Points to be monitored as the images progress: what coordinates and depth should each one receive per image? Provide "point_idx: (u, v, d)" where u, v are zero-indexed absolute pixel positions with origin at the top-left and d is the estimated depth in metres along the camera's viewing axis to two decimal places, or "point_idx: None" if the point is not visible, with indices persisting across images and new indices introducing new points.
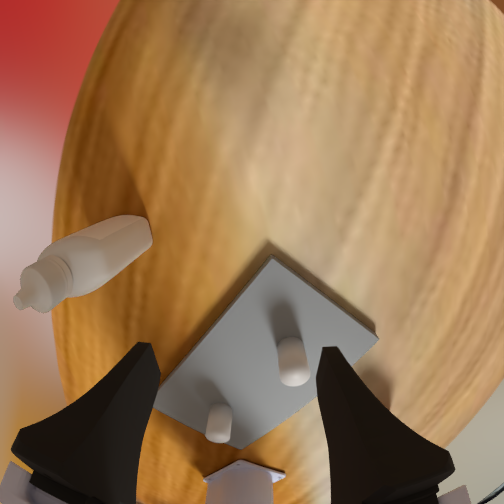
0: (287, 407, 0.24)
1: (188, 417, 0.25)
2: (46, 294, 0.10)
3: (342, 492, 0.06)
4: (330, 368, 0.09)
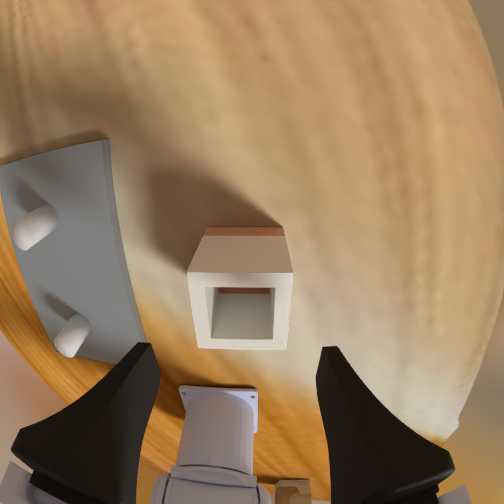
0: (110, 285, 0.20)
1: (79, 347, 0.23)
2: None
3: (342, 493, 0.06)
4: (330, 368, 0.09)
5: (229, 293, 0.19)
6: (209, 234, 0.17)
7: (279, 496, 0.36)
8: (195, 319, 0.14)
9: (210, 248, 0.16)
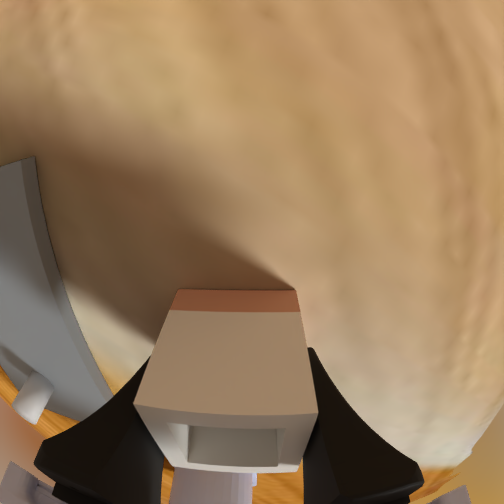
0: (63, 352, 0.13)
1: (47, 402, 0.16)
2: None
3: (311, 497, 0.06)
4: None
5: None
6: (179, 307, 0.11)
7: None
8: (161, 446, 0.08)
9: (177, 342, 0.09)
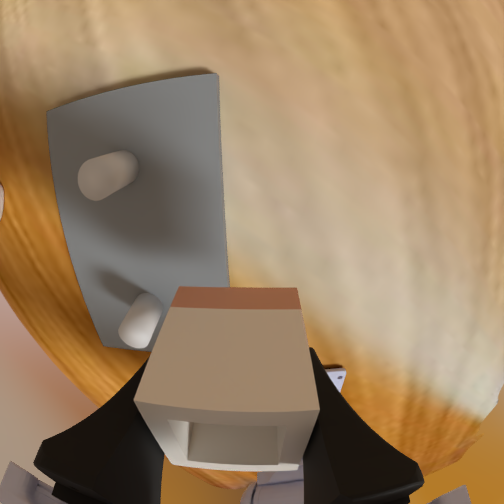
0: (204, 251, 0.18)
1: None
2: None
3: (311, 497, 0.06)
4: None
5: None
6: (180, 304, 0.11)
7: None
8: (161, 443, 0.08)
9: (178, 338, 0.09)
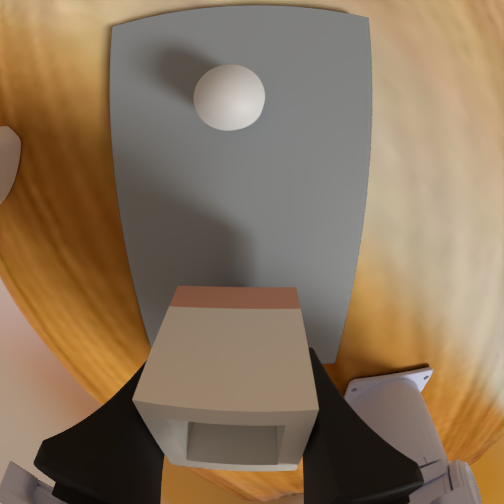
0: (337, 230, 0.13)
1: None
2: None
3: (311, 497, 0.06)
4: None
5: None
6: (179, 303, 0.11)
7: None
8: (159, 443, 0.08)
9: (177, 338, 0.09)
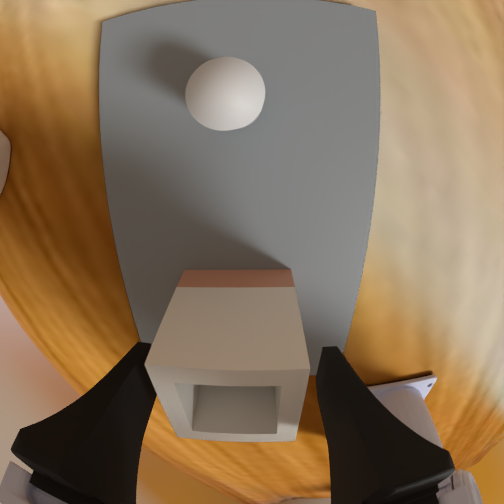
0: (342, 237, 0.12)
1: None
2: None
3: (342, 492, 0.06)
4: (330, 368, 0.09)
5: None
6: (185, 284, 0.12)
7: None
8: (167, 412, 0.09)
9: (184, 312, 0.10)
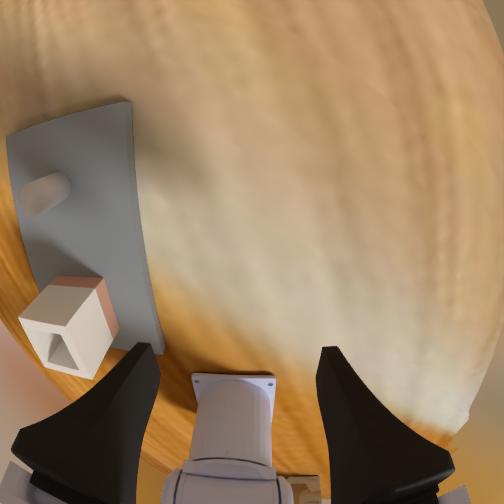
0: (124, 259, 0.19)
1: None
2: None
3: (342, 492, 0.06)
4: (330, 368, 0.09)
5: None
6: (52, 283, 0.18)
7: None
8: (34, 347, 0.15)
9: (43, 297, 0.17)
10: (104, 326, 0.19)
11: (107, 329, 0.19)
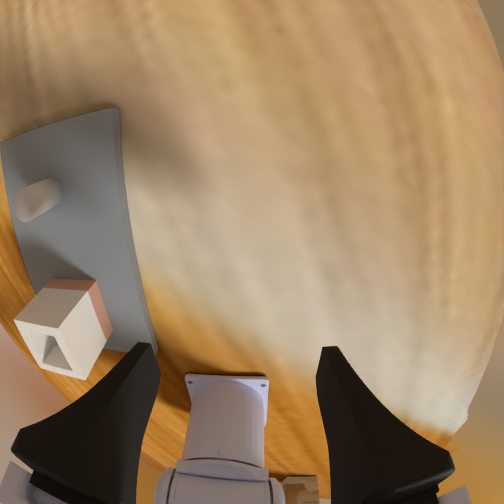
0: (115, 262, 0.19)
1: None
2: None
3: (342, 492, 0.06)
4: (330, 368, 0.09)
5: None
6: (47, 286, 0.18)
7: (286, 493, 0.36)
8: (29, 348, 0.15)
9: (37, 300, 0.17)
10: (97, 328, 0.19)
11: (100, 331, 0.20)
